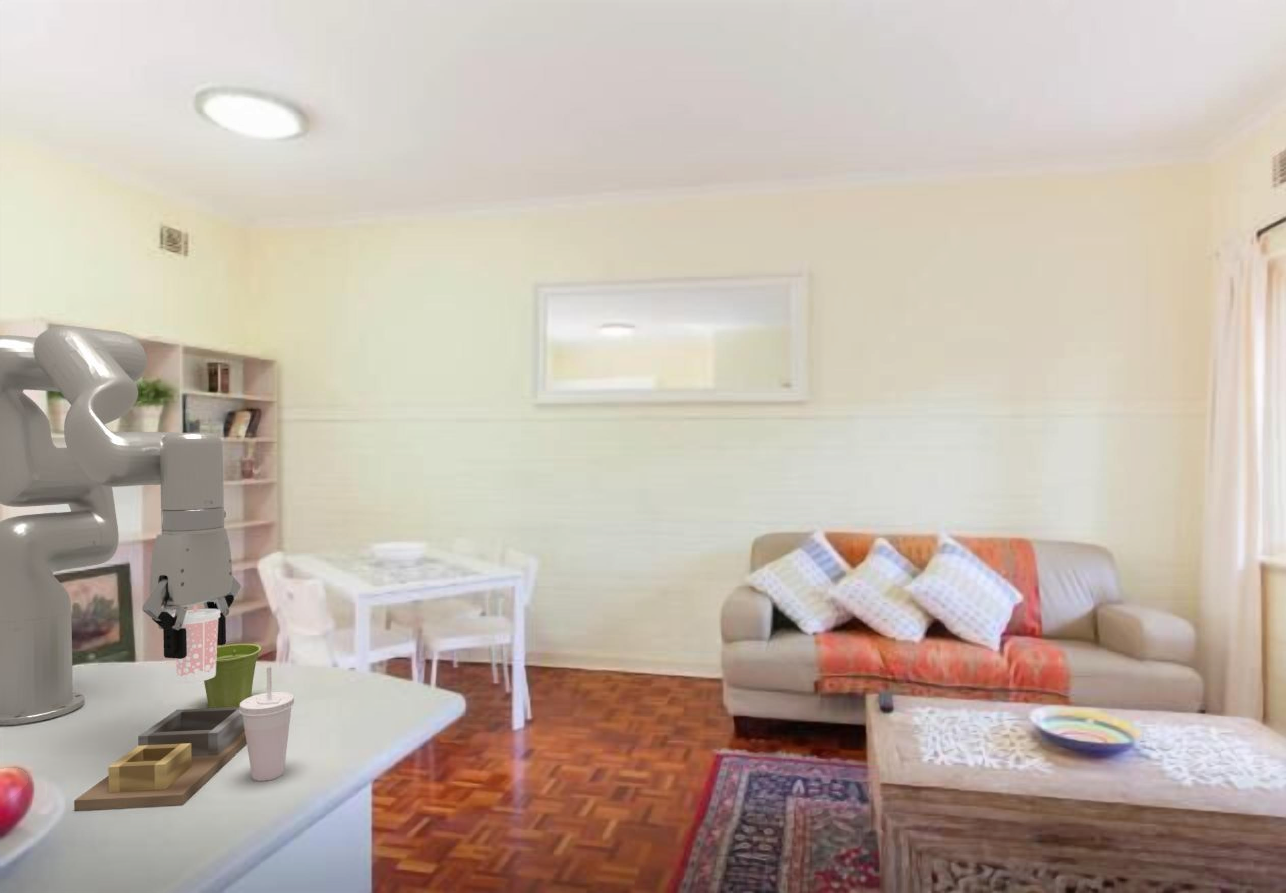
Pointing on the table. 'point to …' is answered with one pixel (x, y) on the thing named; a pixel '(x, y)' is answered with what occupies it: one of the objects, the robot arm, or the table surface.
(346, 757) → the table surface
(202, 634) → the beverage cup
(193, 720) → the fitting board
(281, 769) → the smoothie
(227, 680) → the plant pot
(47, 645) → the robot arm
